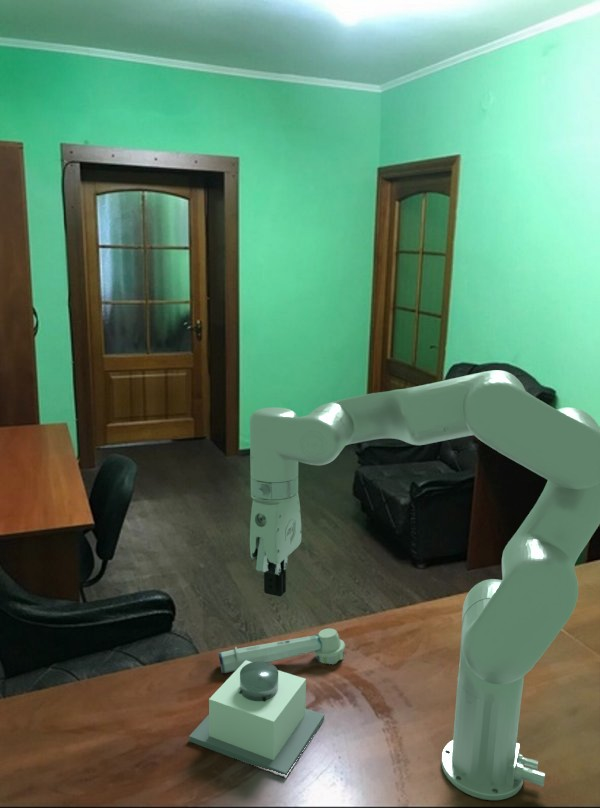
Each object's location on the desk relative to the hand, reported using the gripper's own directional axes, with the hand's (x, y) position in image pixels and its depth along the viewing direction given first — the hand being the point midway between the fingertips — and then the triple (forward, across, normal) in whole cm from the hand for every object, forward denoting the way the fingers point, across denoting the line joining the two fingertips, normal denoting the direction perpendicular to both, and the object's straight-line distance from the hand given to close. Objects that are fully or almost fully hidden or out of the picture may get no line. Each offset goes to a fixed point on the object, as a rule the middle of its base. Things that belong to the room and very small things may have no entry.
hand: (275, 592), depth 107 cm
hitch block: (+25, -2, +2) cm, 25 cm away
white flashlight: (+26, +17, +7) cm, 32 cm away
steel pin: (+23, -2, +2) cm, 23 cm away
